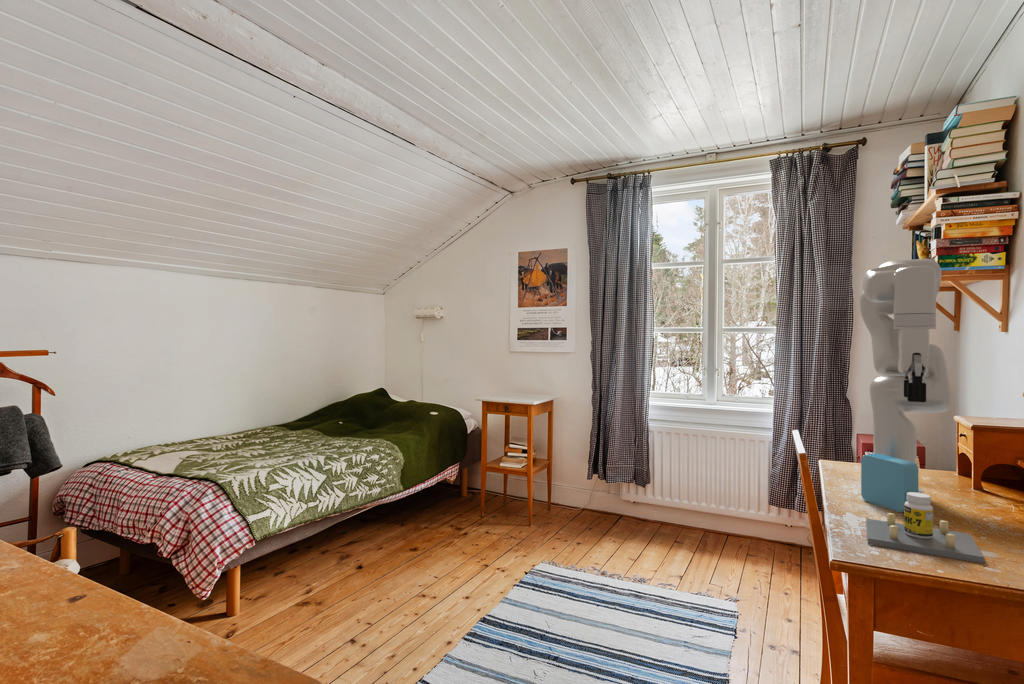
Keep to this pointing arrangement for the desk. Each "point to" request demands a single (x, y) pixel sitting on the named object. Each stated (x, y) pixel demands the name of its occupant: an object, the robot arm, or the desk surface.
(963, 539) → the chassis plate
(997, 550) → the desk surface
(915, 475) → the data package
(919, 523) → the supplement bottle
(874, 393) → the robot arm
